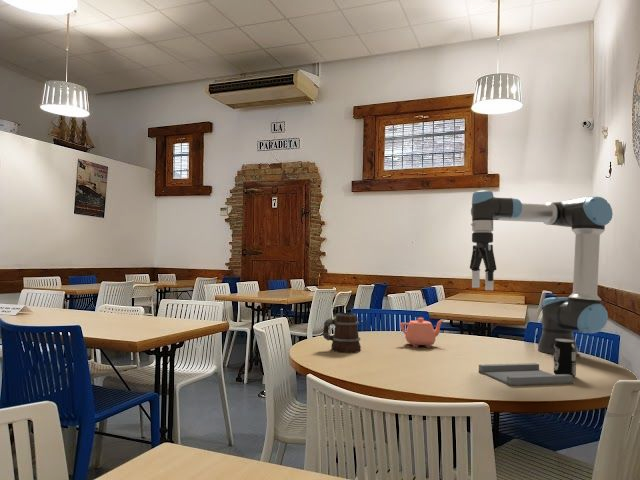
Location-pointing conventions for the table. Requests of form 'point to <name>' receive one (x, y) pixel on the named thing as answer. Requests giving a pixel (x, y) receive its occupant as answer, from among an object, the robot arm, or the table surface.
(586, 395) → the table surface
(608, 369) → the table surface
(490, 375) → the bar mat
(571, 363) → the beverage can
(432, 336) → the teapot
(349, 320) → the mug
